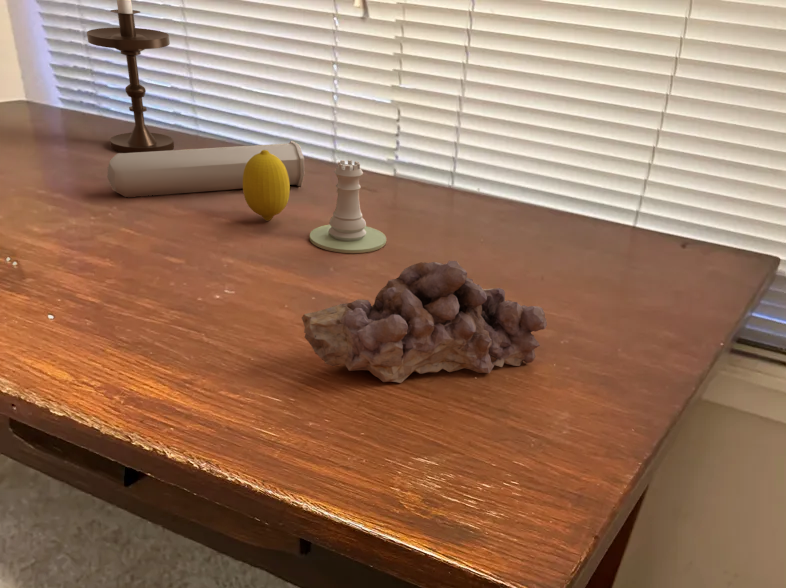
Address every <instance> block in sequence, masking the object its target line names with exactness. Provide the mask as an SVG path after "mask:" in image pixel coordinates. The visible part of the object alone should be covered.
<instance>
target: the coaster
mask: <svg viewBox="0 0 786 588" xmlns="http://www.w3.org/2000/svg"><path fill="white" fill-rule="evenodd" d="M330 228H331V225H330V224H325V225H321V226H318V227H316V228H314V229H312V230H311V231H310V232H309V241H310V243H312V245H314V246H315V247H318V248H319V249H320V248H321V249H322V250H326V251H328V252H333V253H339V254H340V253H341V254H362V253H364V254H365V253H371V252H375V251H377V250H381V249H382V248H384V246H385V245H386V243H387V237H386V236H387V235H385V233H383V232H382V231H380V230H379V229H376V228H374V227H371V226H367V225H366V226H365V228H364V230H365V231H366V235H365V236H364V237H363V238H362V239H361V240H357V241H341V240H337V239H335V238H333V237H332V236H331V234H330V233H329V229H330Z"/></svg>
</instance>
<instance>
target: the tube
mask: <svg viewBox="0 0 786 588" xmlns="http://www.w3.org/2000/svg"><path fill="white" fill-rule="evenodd" d="M262 150H268V152H269V153H270V154H273V155H275V156H276V157H278V158H279V159H280V160H281V161H282V163H283V164H284V166H285V168H286V170H287V173H288V177H289V183H290V185H292V186H293V185H295V186H297V187H302V185H303V181H304V178H305V157H304V154H303V151H302V148H301V146H300V144H298V143H297V142H296V141H294V140H290V142H287V143H275V144H274V143H273V144H256V145H255V144H254V145H253V144H252V145H240V146H239V145H238V146H236V145H235V146H223V147H222V146H220V147H219V146H218V147H205V148H203V147H202V148H189V149H187V148H186V149H172V150H169V151H152V152H135V153H122V152H118V153H116V154H115V155H114V156H113V157H112V158H111V159H110V160H109V163H108V165H107V176H106V177H107V179H108V182H109V184H110V187H111V189H112V191H114V192H116V193H117V194H119V195H121V196H123V197H125V198H126V197H128V198H135V197H134V196H141V197H151V196H152V195H153V196H163V195H164V196H165V195H176V194H177V195H178V194H179V195H180V194H190V193H202V192H203V193H205V192H216V191H217V192H218V191H226V190H227V191H230V190H241V189H242V190H243V173H244V169H245V166H246V164H247V162H248V161H249V160H250V159H251V158H252V157H253V156H254V155H256V154H258V153H260V152H261V151H262ZM148 195H149V196H148Z"/></svg>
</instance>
